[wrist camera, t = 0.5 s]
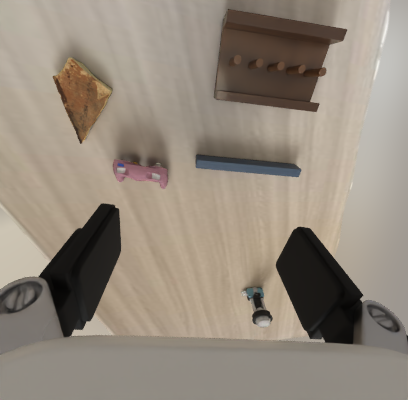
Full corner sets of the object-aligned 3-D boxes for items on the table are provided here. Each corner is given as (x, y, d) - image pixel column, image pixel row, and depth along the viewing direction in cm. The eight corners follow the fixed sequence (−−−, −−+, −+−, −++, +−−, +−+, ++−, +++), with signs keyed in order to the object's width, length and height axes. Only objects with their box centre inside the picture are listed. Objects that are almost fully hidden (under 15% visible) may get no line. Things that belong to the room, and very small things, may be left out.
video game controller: (170, 167, 40) (168, 163, 33) (167, 189, 40) (164, 190, 34) (120, 158, 39) (108, 152, 32) (117, 181, 39) (104, 180, 32)
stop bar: (196, 154, 37) (196, 159, 35) (294, 164, 39) (301, 169, 37) (195, 162, 38) (195, 168, 36) (291, 171, 40) (298, 177, 38)
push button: (240, 295, 62) (248, 330, 53) (241, 285, 59) (249, 319, 50) (261, 294, 62) (272, 328, 53) (263, 283, 59) (275, 317, 50)
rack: (223, 18, 28) (229, 5, 23) (328, 36, 29) (354, 26, 24) (213, 97, 33) (217, 100, 28) (303, 109, 34) (321, 113, 29)
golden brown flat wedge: (85, 142, 35) (80, 144, 34) (41, 110, 33) (33, 112, 31) (116, 92, 32) (112, 92, 30) (69, 51, 29) (62, 50, 27)
